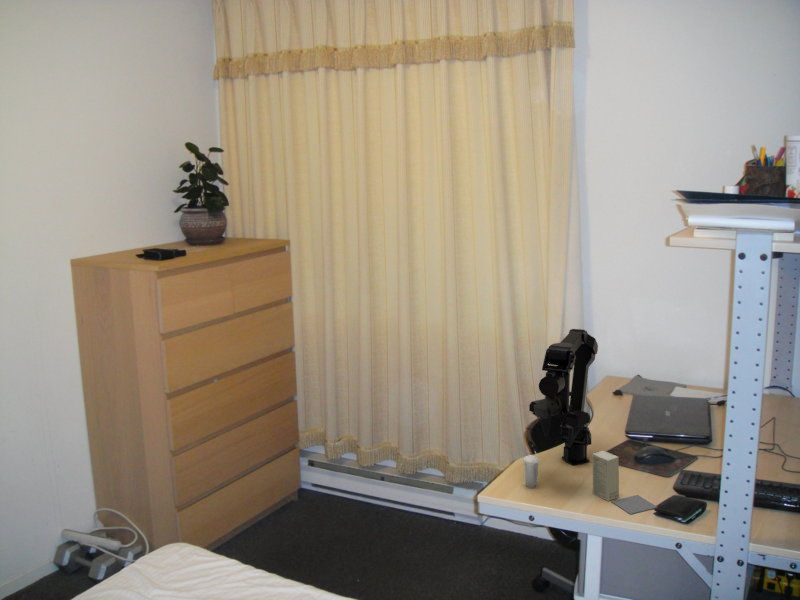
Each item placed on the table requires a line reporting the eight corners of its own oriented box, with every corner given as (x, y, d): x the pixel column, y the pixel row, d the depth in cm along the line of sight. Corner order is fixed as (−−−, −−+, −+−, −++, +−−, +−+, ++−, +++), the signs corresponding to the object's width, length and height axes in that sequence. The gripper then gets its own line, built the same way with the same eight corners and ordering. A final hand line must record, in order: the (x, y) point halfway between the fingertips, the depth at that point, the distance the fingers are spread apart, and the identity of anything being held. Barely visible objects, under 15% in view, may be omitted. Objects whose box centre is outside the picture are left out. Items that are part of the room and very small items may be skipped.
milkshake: (542, 489, 202) (542, 457, 201) (523, 488, 203) (523, 456, 202) (542, 483, 207) (542, 451, 205) (523, 482, 208) (523, 450, 206)
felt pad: (637, 495, 197) (637, 494, 197) (657, 507, 189) (657, 506, 189) (611, 502, 194) (611, 501, 193) (630, 514, 186) (630, 513, 186)
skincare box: (619, 497, 196) (620, 457, 194) (607, 501, 194) (608, 460, 192) (602, 489, 201) (603, 449, 199) (591, 493, 199) (591, 453, 197)
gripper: (516, 386, 205) (515, 437, 207) (565, 400, 189) (563, 455, 192) (542, 380, 211) (541, 430, 213) (592, 393, 196) (590, 447, 198)
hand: (558, 440), depth 204 cm, fingers open, 9 cm apart
